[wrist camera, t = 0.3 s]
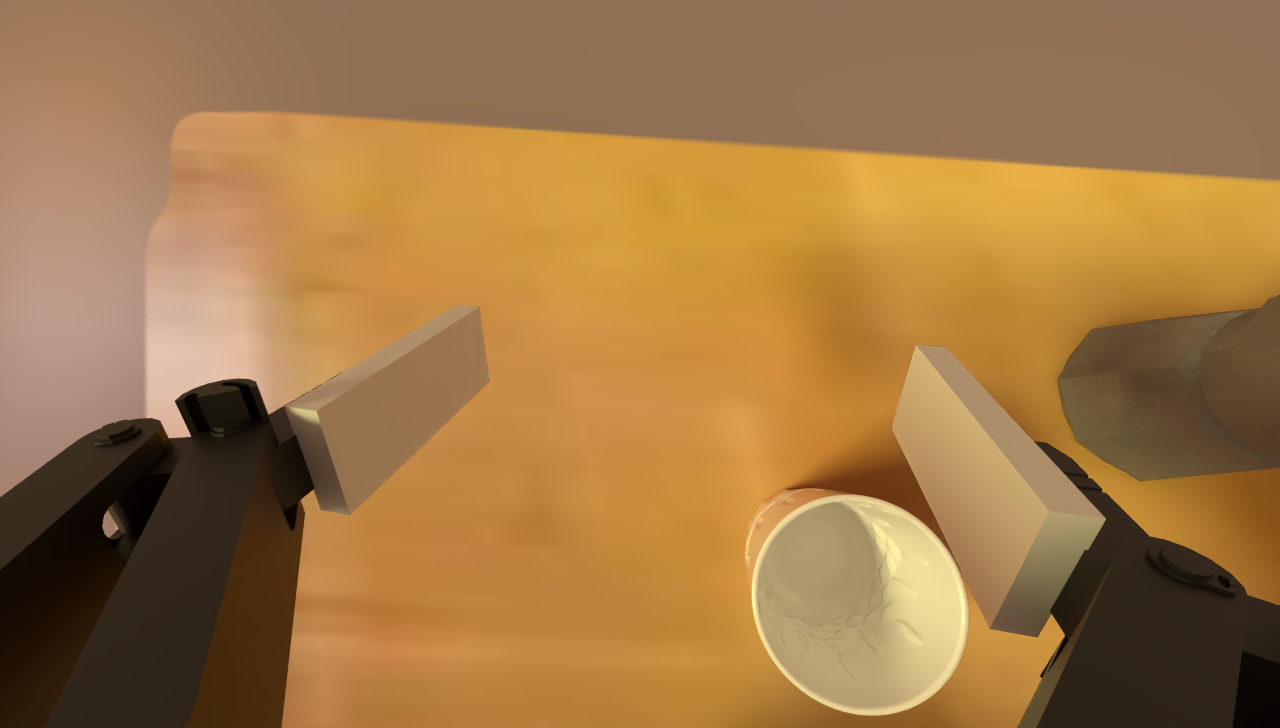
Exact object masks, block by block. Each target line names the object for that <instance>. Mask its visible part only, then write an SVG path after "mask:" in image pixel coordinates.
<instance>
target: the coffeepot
mask: <svg viewBox="0 0 1280 728" xmlns="http://www.w3.org/2000/svg"><path fill="white" fill-rule="evenodd" d="M1058 385H1059V391H1060V397H1061V402H1062V408H1063V411H1064V414H1065V416H1066V419H1067V421H1068V424H1069V425H1070V427H1071V428H1072V430H1073V432H1074V435H1075V438H1076V441H1077V442H1078V443H1080V444H1081V445H1083V446H1084V447H1085V448H1087V449H1088V450H1090V451H1091V452H1092V453H1094V454H1095V455H1096V456H1098V457H1099V458H1100V459H1102V460H1103V461H1105V462H1107V463H1109V464H1111V465H1113V466H1115V467H1117V468H1119V469H1121V470H1123V471H1125V472H1126V473H1128V474H1130V475H1131V476H1133V477H1134V478H1136V479H1138V480H1139V481H1146V480H1157V479H1167V478H1177V477H1187V476H1197V475H1207V474H1217V473H1228V472H1239V471H1250V470H1260V469H1271V468H1280V295H1278V296H1276V297H1273V298H1271V299H1268V300H1267V302H1266V303H1265V304H1264V305H1263V306H1262V308H1259V309H1249V310H1240V311H1231V312H1222V313H1212V314H1203V315H1194V316H1185V317H1176V318H1166V319H1158V320H1151V321H1144V322H1138V323H1131V324H1125V325H1118V326H1112V327H1105V328H1099V329H1092V330H1091V331H1090V332H1089V333H1088V335H1087V336H1086V337H1085V339H1084V340H1083V341H1082V342H1081V344H1080V345H1079V346H1078V347H1077V348H1076V350H1075V351H1074V352H1073V353H1072V354H1071V355H1070V357H1069V359H1068V361H1067V363H1066V365H1065V367H1064V370H1063V372H1062V373H1061V375H1060V376H1059V378H1058Z"/></svg>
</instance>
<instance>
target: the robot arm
mask: <svg viewBox="0 0 1280 728" xmlns="http://www.w3.org/2000/svg"><path fill="white" fill-rule="evenodd" d="M489 382H490V380H489V373H488V365H487V358H486V351H485V343H484V336H483V329H482V321H481V314H480V307H478V306H466V305H457V306H455V307H453V308H452V309H450V310H448V311H446V312H445V313H443V314H441V315H440V316H438V317H436V318H435V319H433V320H431V321H429V322H428V323H426V324H424V325H423V326H421V327H419V328H417V329H416V330H414V331H412V332H411V333H409V334H407V335H405V336H404V337H402V338H400V339H399V340H397V341H395V342H394V343H392V344H390V345H388V346H387V347H385V348H383V349H382V350H380V351H378V352H376V353H375V354H373V355H371V356H370V357H368V358H366V359H364V360H363V361H361V362H359V363H358V364H356V365H354V366H353V367H351V368H349V369H347V370H346V371H344V372H342V373H340V374H338V375H336V376H335V377H333V378H331V379H329V380H328V381H326V382H325V383H323V384H321V385H319V386H317V387H316V388H314V389H312V390H311V391H310V392H307V393H305V394H304V395H302V396H300V397H299V398H297V399H295V400H293V401H292V402H290V403H288V404H287V405H285V406H283V407H281V408H280V409H278V410H276V411H275V412H273V413H271V414H269V415H268V412H267V410H266V407H265V404H264V402H263V399H262V396H261V394H260V391H259V389H258V386H257V383H256V382H255V381H252V380H250V379H229V380H222V381H217V382H213V383H209V384H206V385H203V386H200V387H197V388H194V389H192V390H190V391H188V392H186V393H184V394H182V395H181V396H180V397H179V398H178V399H177V400H175V402H176V405H177V407H178V409H179V411H180V413H181V415H182V417H183V419H184V422H185V424H186V426H187V428H188V430H189V432H190V434H191V437H183V438H168V436H167V434H166V432H165V430H164V428H163V426H162V424H161V422H160V420H156V419H153V418H144V419H134V420H123V421H118V422H116V423H111V424H108V425H105V426H103V427H102V428H101V429H98V430H96V431H93V432H91V433H89V434H88V435H86V436H84V437H82V438H80V439H79V440H77V441H76V442H75V443H73V444H72V445H70V446H69V447H68V448H66V449H65V450H64V451H62V453H60V454H58V455H57V456H56V457H54V458H53V459H52V460H50V461H49V462H47V463H46V464H45V465H43V466H42V467H41V468H40V469H38V470H37V471H35V472H34V473H33V474H31V475H30V476H28V477H27V478H26V479H24V480H23V481H22V482H20V483H19V484H18V485H16V486H15V487H14V488H12V489H11V490H10V491H8V492H7V493H5V494H4V495H3V496H1V497H0V728H281V727H282V717H283V708H284V699H285V690H286V681H287V672H288V663H289V654H290V645H291V636H292V626H293V617H294V608H295V599H296V590H297V581H298V572H299V563H300V554H301V545H302V536H303V526H304V517H305V512H304V508H303V505H302V503H301V499H302V498H303V497H305V496H306V495H307V494H308V493H309V492H311V491H312V490H313V489H314V492H315V494H316V497H317V500H318V503H319V506H320V508H321V510H324V511H330V512H336V513H341V514H347V515H351V514H352V513H353V512H354V511H355V510H356V509H357V508H358V507H359V506H360V505H361V504H362V503H363V502H364V501H365V500H367V499H368V498H369V497H370V496H371V495H372V494H373V493H374V492H375V491H376V490H377V489H378V488H379V487H380V486H381V485H382V484H383V483H384V482H385V481H386V480H387V479H388V478H390V477H391V476H392V475H393V474H394V473H395V472H396V471H397V470H398V469H399V468H400V467H401V466H402V465H403V464H404V463H405V462H406V461H407V460H408V459H409V458H410V457H412V456H413V455H414V454H415V453H416V452H417V451H418V450H419V449H420V448H421V447H422V446H423V445H424V444H425V443H426V442H427V441H428V440H429V439H430V438H431V437H432V436H433V435H435V434H436V433H437V432H438V431H439V430H440V429H441V428H442V427H443V426H444V425H445V424H446V423H447V422H448V421H449V420H450V419H451V418H452V417H453V416H454V415H455V414H457V413H458V412H459V411H460V410H461V409H462V408H463V407H464V406H465V405H466V404H467V403H468V402H469V401H470V400H471V399H472V398H473V397H474V396H475V395H476V394H477V393H478V392H480V391H481V390H482V389H483V388H484V387H485V386H486V385H487V384H488V383H489ZM892 431H893V433H894V435H895V437H896V439H897V441H898V443H899V445H900V447H901V449H902V451H903V453H904V455H905V457H906V459H907V461H908V463H909V465H910V467H911V469H912V471H913V473H914V475H915V477H916V479H917V482H918V484H919V486H920V488H921V490H922V492H923V494H924V496H925V498H926V500H927V502H928V504H929V506H930V508H931V510H932V512H933V514H934V516H935V518H936V520H937V522H938V524H939V526H940V528H941V531H942V533H943V535H944V537H945V539H946V541H947V543H948V545H949V547H950V549H951V551H952V553H953V555H954V557H955V559H956V561H957V563H958V565H959V567H960V569H961V571H962V573H963V575H964V577H965V580H966V582H967V584H968V586H969V588H970V590H971V592H972V594H973V596H974V598H975V600H976V602H977V604H978V606H979V608H980V610H981V612H982V614H983V616H984V618H985V620H986V622H987V624H988V626H989V629H993V630H999V631H1005V632H1010V633H1016V634H1022V635H1027V636H1033V637H1038V636H1039V634H1040V632H1041V631H1042V629H1043V627H1044V625H1045V624H1046V622H1047V620H1048V618H1049V617H1050V615H1051V613H1052V615H1053V617H1054V618H1055V620H1056V621H1057V623H1058V624H1059V626H1060V628H1061V629H1062V631H1063V632H1064V634H1065V636H1064V638H1063V640H1062V641H1061V643H1060V644H1059V646H1058V648H1057V649H1056V651H1055V653H1054V654H1053V656H1052V657H1051V659H1050V661H1049V662H1048V664H1047V666H1046V667H1045V669H1044V670H1043V672H1042V674H1041V675H1040V677H1042V680H1041V682H1040V684H1039V686H1038V688H1037V690H1036V692H1035V694H1034V696H1033V698H1032V700H1031V702H1030V704H1029V706H1028V708H1027V710H1026V712H1025V714H1024V716H1023V718H1022V720H1021V722H1020V724H1019V726H1018V728H1280V606H1279V605H1276V604H1273V603H1270V602H1267V601H1264V600H1261V599H1258V598H1255V597H1251V596H1248V595H1247V593H1246V590H1245V588H1244V587H1243V586H1242V585H1241V584H1240V583H1239V581H1238V580H1237V579H1236V578H1235V577H1234V576H1233V575H1232V574H1231V573H1229V572H1228V571H1226V570H1225V569H1224V568H1222V567H1221V566H1219V565H1218V564H1216V563H1215V562H1214V561H1212V560H1211V559H1209V558H1207V557H1205V556H1203V555H1201V554H1199V553H1197V552H1195V551H1193V550H1191V549H1189V548H1187V547H1184V546H1181V545H1179V544H1176V543H1173V542H1170V541H1168V540H1165V539H1160V538H1155V537H1150V536H1149V535H1148V534H1147V533H1146V532H1145V531H1144V530H1143V529H1142V528H1141V527H1140V526H1139V525H1138V524H1137V523H1136V522H1135V521H1134V520H1133V519H1132V518H1131V517H1130V516H1129V515H1128V514H1127V513H1126V512H1125V511H1124V510H1123V509H1122V508H1121V507H1120V506H1119V505H1118V504H1117V503H1116V502H1115V501H1114V500H1113V499H1112V498H1111V497H1110V496H1109V495H1108V494H1107V493H1103V492H1102V488H1101V487H1100V486H1099V485H1098V484H1097V483H1096V482H1095V481H1094V480H1093V479H1091V478H1088V474H1087V473H1086V472H1085V471H1084V470H1083V469H1082V468H1081V467H1080V466H1079V465H1078V464H1077V463H1076V462H1075V461H1074V460H1073V459H1072V458H1070V457H1068V456H1067V455H1065V454H1064V453H1062V452H1060V451H1059V450H1057V449H1056V448H1054V447H1052V446H1051V445H1049V444H1047V443H1044V442H1035V441H1033V440H1032V439H1031V438H1030V437H1029V436H1028V435H1027V434H1026V433H1025V431H1024V430H1023V429H1022V428H1021V427H1020V426H1019V425H1018V424H1017V423H1016V422H1015V421H1014V420H1013V419H1012V418H1011V416H1010V415H1009V414H1008V413H1007V412H1006V411H1005V410H1004V409H1003V408H1002V407H1001V406H1000V405H999V404H998V403H997V401H996V400H995V399H994V398H993V397H992V396H991V395H990V394H989V393H988V392H987V391H986V390H985V389H984V388H983V386H982V385H981V384H980V383H979V382H978V381H977V380H976V379H975V378H974V377H973V376H972V375H971V374H970V373H969V371H968V370H967V369H966V368H965V367H964V366H963V365H962V364H961V363H960V362H959V361H958V360H957V359H956V358H955V357H954V355H953V354H952V353H951V352H950V351H949V350H948V349H947V348H946V347H936V346H925V345H916V346H915V349H914V353H913V356H912V360H911V363H910V367H909V370H908V373H907V377H906V380H905V384H904V387H903V391H902V394H901V397H900V401H899V404H898V408H897V411H896V415H895V418H894V422H893V425H892ZM107 510H108V511H109V513H110V515H111V516H112V518H113V520H114V521H115V523H116V524H117V526H118V528H119V529H118V530H117V531H116V532H115V533H114V534H113V535H112V536H111V537H110V538H108V537H107V536H106V535H105V534H104V531H103V527H102V524H103V518H104V515H105V513H106V511H107Z"/></svg>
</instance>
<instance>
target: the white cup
mask: <svg viewBox="0 0 1280 728" xmlns="http://www.w3.org/2000/svg"><path fill="white" fill-rule="evenodd" d="M745 552H746V568H747V578H748V584H749V589H750V595H751V601H752V607H753V613H754V618H755V622H756V626H757V629H758V632H759V634H760V637H761V639H762V642H763V644H764V646H765V648H766V650H767V651H768V653H769V655H770V657H771V658H772V660H773V661H774V663H775V664H776V665H777V667H778V668H779V669H780V670H781V672H782V673H783V674H784V675H785V676H786V677H787V678H788V679H789V680H790V681H791V682H792V683H793V684H794V685H795V686H796V687H798V688H799V689H800V690H801V691H803V692H804V693H805V694H807V695H808V696H810V697H811V698H813V699H815V700H816V701H818V702H820V703H822V704H824V705H826V706H829V707H831V708H834V709H837V710H840V711H843V712H847V713H851V714H857V715H868V716H877V715H888V714H894V713H898V712H901V711H905V710H907V709H910V708H912V707H915V706H917V705H919V704H920V703H922V702H924V701H926V700H927V699H928V698H930V697H931V696H933V695H934V694H935V693H936V692H937V691H938V690H939V689H941V688H942V686H943V685H944V684H945V683H946V682H947V681H948V679H949V678H950V677H951V675H952V674H953V672H954V671H955V669H956V667H957V666H958V664H959V662H960V659H961V657H962V655H963V652H964V649H965V645H966V641H967V636H968V629H969V606H968V599H967V593H966V589H965V585H964V582H963V579H962V576H961V574H960V571H959V569H958V567H957V565H956V563H955V561H954V559H953V557H952V556H951V554H950V552H949V551H948V549H947V548H946V547H945V545H944V544H943V543H942V541H941V540H940V539H939V538H938V537H937V535H936V534H935V533H934V532H933V531H932V530H931V529H930V528H929V527H928V526H926V525H925V524H924V523H923V522H922V521H921V520H919V519H918V518H917V517H915V516H914V515H912V514H911V513H909V512H907V511H906V510H904V509H902V508H900V507H898V506H896V505H894V504H892V503H889V502H887V501H884V500H881V499H877V498H873V497H869V496H863V495H857V494H852V493H846V492H841V491H836V490H828V489H816V488H804V489H790V490H783V491H781V492H780V493H778V494H776V495H774V496H773V497H771V498H769V499H767V500H766V501H764V502H762V504H761V505H760V507H759V508H758V510H757V511H756V513H755V514H754V516H753V517H752V519H751V520H750V522H749V524H748V530H747V539H746V547H745Z"/></svg>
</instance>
